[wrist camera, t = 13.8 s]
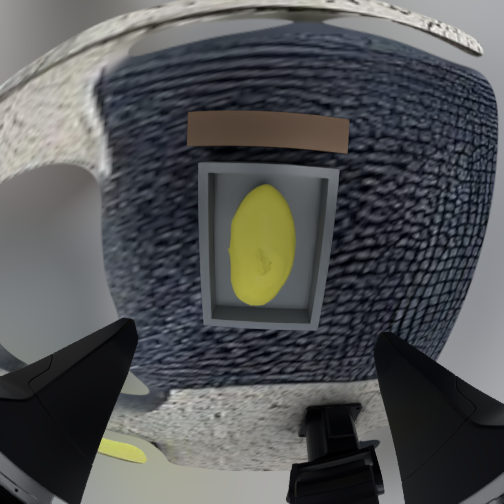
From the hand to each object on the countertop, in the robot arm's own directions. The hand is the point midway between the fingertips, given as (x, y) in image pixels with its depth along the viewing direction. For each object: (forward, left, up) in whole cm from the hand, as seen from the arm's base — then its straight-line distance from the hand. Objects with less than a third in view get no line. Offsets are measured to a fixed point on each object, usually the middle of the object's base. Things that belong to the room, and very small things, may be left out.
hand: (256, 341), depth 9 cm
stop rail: (+7, 0, -11) cm, 13 cm away
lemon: (0, 0, -11) cm, 11 cm away
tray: (0, 0, -11) cm, 11 cm away
